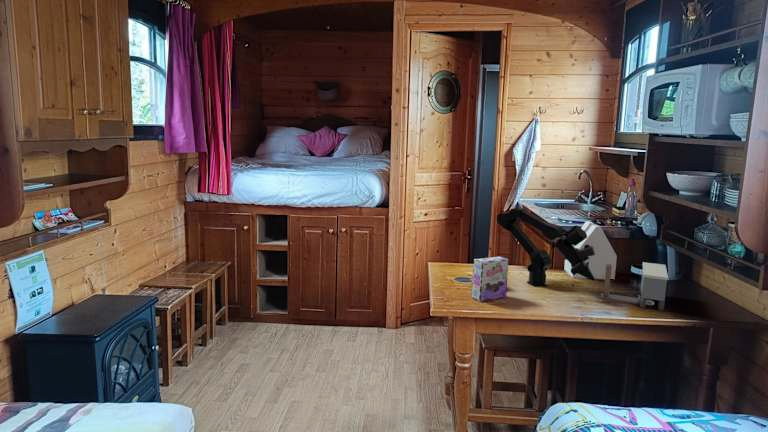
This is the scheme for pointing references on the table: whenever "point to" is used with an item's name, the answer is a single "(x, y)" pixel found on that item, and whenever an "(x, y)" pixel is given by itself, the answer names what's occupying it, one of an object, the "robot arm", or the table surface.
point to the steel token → (649, 302)
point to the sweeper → (616, 297)
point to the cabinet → (653, 284)
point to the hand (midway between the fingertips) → (593, 279)
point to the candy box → (489, 278)
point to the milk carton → (596, 252)
